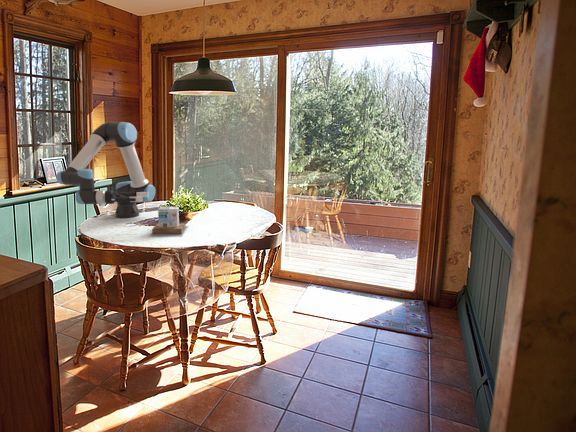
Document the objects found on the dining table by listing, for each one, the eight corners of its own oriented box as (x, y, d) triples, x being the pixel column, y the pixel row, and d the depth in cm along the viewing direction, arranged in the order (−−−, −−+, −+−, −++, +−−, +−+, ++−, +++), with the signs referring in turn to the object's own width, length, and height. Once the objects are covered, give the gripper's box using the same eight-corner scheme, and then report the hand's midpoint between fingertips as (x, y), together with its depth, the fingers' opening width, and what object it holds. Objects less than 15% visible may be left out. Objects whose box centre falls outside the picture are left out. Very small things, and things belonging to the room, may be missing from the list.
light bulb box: (158, 227, 231) (157, 208, 229) (160, 224, 237) (159, 206, 235) (178, 227, 232) (177, 208, 230) (179, 224, 239) (178, 206, 237)
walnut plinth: (158, 228, 242) (157, 223, 241) (185, 228, 243) (185, 223, 242) (152, 234, 228) (152, 229, 227) (181, 234, 229) (181, 229, 229)
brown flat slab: (158, 227, 247) (158, 226, 246) (188, 227, 248) (188, 226, 248) (148, 238, 223) (148, 236, 223) (181, 238, 225) (181, 236, 225)
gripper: (114, 199, 241) (151, 198, 243) (98, 208, 217) (140, 208, 218) (112, 186, 239) (150, 186, 241) (97, 194, 215) (138, 194, 217)
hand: (145, 196), depth 230 cm, fingers open, 13 cm apart
